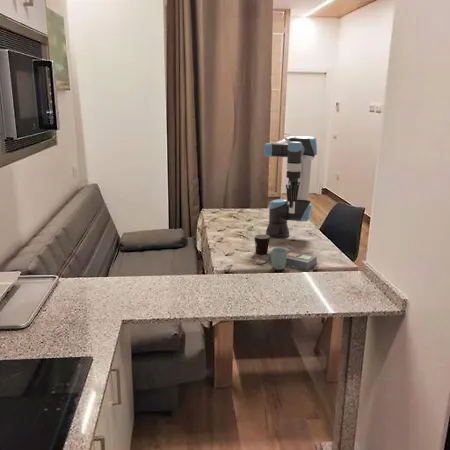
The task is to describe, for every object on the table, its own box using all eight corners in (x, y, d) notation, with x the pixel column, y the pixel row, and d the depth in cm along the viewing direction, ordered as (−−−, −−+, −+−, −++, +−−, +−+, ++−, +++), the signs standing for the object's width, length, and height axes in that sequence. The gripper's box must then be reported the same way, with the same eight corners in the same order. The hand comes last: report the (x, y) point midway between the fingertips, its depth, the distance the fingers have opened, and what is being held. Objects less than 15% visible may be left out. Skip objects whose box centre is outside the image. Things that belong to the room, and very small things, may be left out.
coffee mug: (268, 256, 251) (268, 239, 249) (253, 255, 253) (253, 238, 250) (270, 249, 262) (271, 233, 260) (255, 248, 264) (256, 232, 261)
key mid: (289, 258, 246) (290, 251, 245) (299, 260, 243) (299, 253, 242) (284, 261, 241) (285, 254, 240) (294, 263, 238) (294, 256, 237)
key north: (302, 261, 242) (302, 254, 241) (312, 263, 239) (312, 256, 238) (297, 264, 237) (297, 257, 236) (307, 266, 234) (308, 259, 233)
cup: (275, 264, 238) (276, 247, 235) (288, 268, 234) (289, 249, 231) (268, 269, 232) (268, 250, 229) (281, 272, 228) (282, 253, 225)
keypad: (278, 255, 253) (278, 248, 252) (316, 263, 241) (316, 256, 240) (268, 260, 244) (268, 253, 243) (306, 269, 231) (307, 262, 230)
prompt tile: (259, 259, 245) (259, 258, 245) (267, 261, 242) (267, 260, 242) (253, 263, 240) (253, 261, 240) (261, 265, 237) (261, 263, 237)
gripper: (292, 168, 250) (290, 209, 256) (281, 171, 240) (280, 214, 246) (305, 169, 246) (302, 211, 252) (294, 172, 236) (292, 216, 242)
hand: (291, 212), depth 249 cm, fingers closed
